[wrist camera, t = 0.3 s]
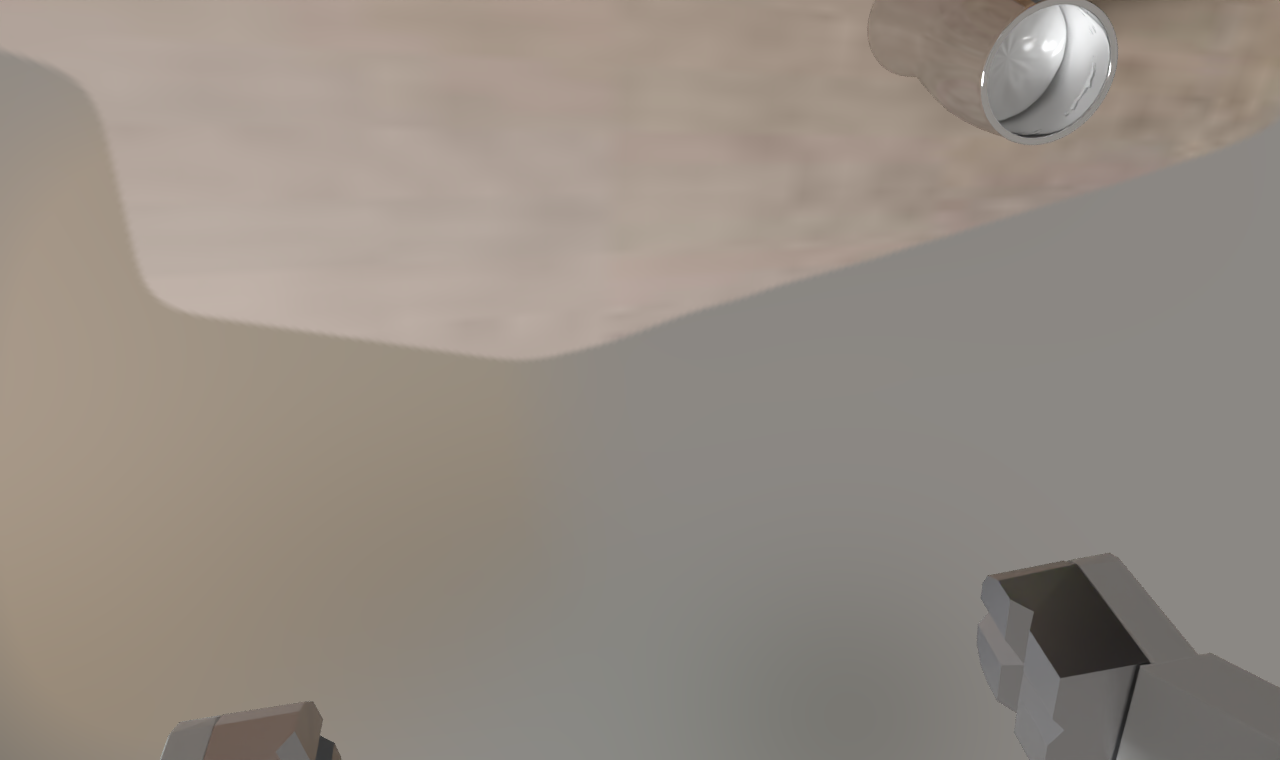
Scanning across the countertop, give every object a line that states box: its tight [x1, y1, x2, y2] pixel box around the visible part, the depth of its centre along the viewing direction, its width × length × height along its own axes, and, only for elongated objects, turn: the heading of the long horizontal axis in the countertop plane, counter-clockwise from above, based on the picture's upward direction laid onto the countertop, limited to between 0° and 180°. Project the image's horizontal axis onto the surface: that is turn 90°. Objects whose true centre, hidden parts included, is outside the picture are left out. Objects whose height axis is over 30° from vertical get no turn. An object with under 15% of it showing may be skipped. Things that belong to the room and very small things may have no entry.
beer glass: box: [867, 0, 1118, 145], centre depth 49 cm, size 7×7×15 cm
